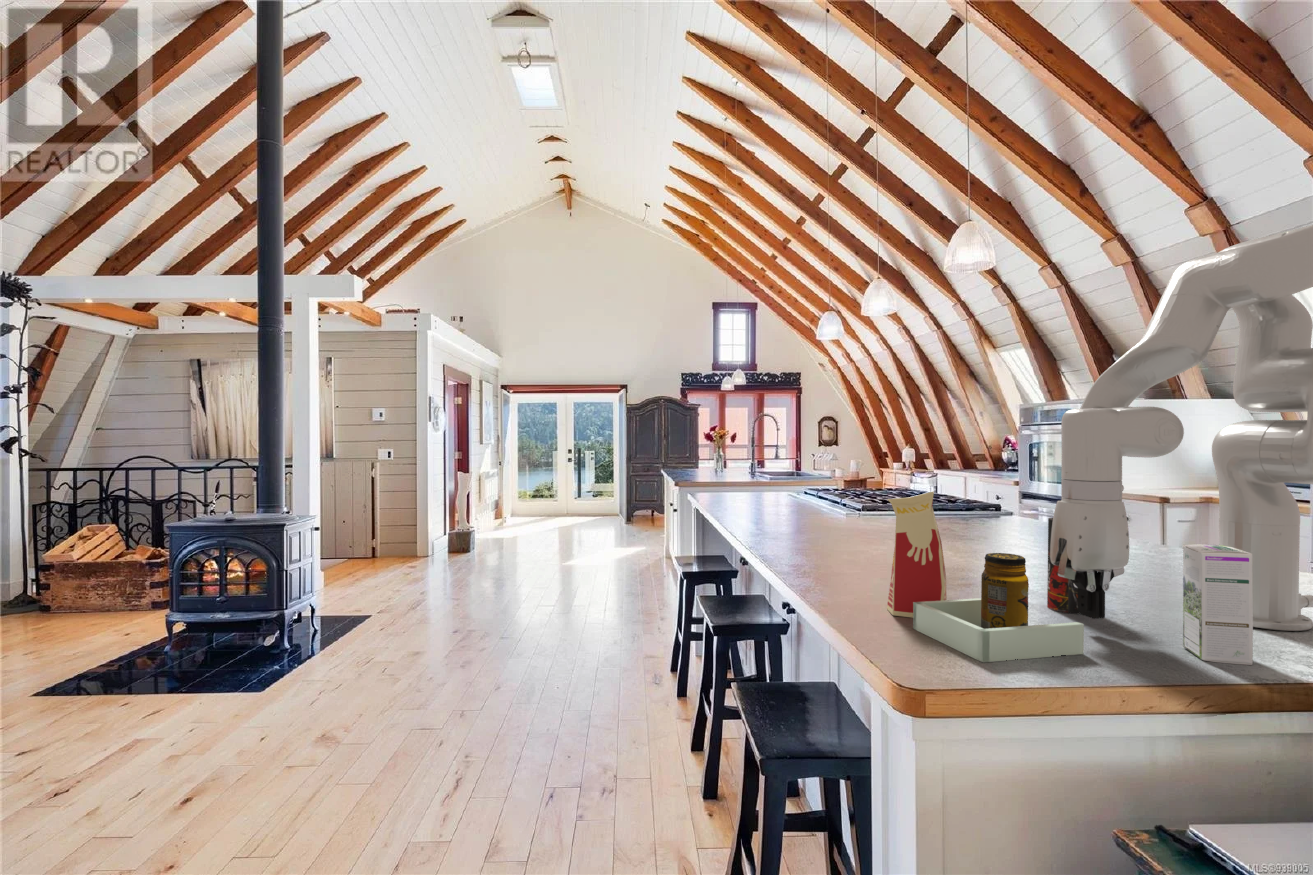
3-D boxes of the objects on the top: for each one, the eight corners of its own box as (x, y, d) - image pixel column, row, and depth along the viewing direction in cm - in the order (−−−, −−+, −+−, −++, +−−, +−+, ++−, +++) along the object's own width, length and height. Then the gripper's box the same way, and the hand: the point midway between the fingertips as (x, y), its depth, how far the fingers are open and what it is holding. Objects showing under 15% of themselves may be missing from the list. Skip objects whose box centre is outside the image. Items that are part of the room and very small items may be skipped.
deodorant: (1096, 614, 109) (1098, 522, 109) (1060, 613, 110) (1061, 522, 109) (1074, 604, 115) (1075, 517, 115) (1040, 604, 115) (1040, 517, 115)
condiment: (1042, 643, 94) (1043, 558, 94) (997, 650, 91) (997, 562, 91) (999, 628, 101) (1000, 549, 101) (956, 634, 98) (956, 553, 98)
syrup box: (1255, 666, 85) (1256, 552, 85) (1199, 661, 87) (1201, 549, 87) (1231, 651, 91) (1233, 545, 91) (1180, 647, 93) (1181, 542, 92)
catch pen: (1002, 622, 104) (1002, 596, 104) (1083, 654, 90) (1083, 624, 90) (913, 628, 101) (913, 602, 101) (982, 662, 86) (982, 631, 86)
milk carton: (946, 608, 113) (947, 489, 113) (945, 622, 104) (946, 494, 104) (889, 602, 117) (890, 487, 116) (883, 615, 108) (884, 491, 108)
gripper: (1110, 488, 104) (1110, 606, 104) (1028, 491, 101) (1028, 613, 101) (1156, 493, 97) (1156, 619, 97) (1069, 496, 93) (1069, 627, 94)
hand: (1091, 615), depth 99 cm, fingers closed
